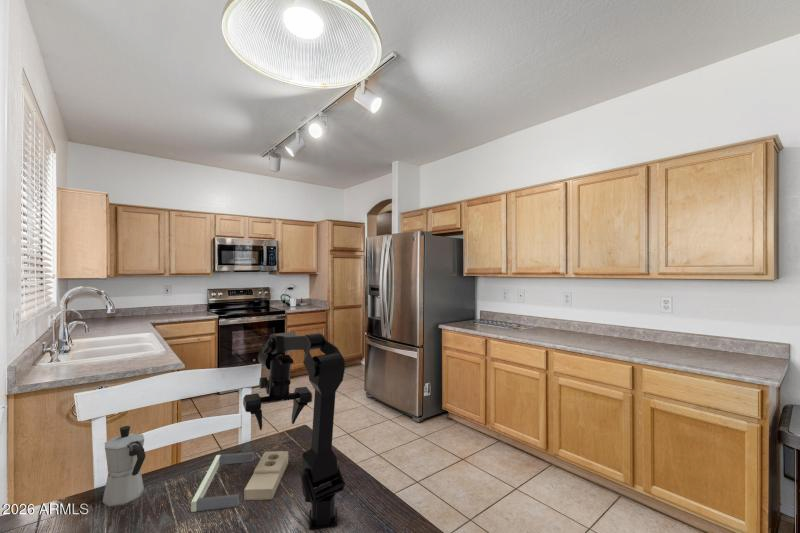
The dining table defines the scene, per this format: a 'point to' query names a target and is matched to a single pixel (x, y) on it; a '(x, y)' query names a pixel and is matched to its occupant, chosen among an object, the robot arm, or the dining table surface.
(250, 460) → the bracket rack
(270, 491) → the electrical outlet
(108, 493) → the coffee maker
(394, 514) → the dining table surface
